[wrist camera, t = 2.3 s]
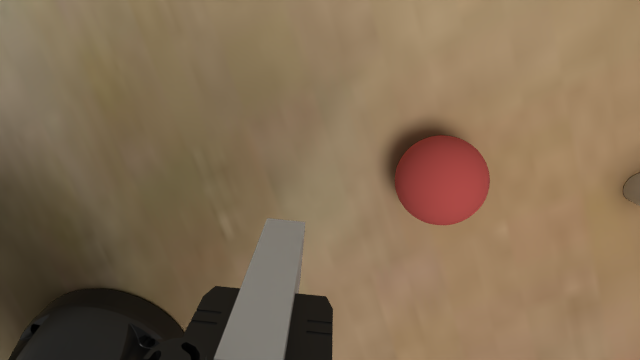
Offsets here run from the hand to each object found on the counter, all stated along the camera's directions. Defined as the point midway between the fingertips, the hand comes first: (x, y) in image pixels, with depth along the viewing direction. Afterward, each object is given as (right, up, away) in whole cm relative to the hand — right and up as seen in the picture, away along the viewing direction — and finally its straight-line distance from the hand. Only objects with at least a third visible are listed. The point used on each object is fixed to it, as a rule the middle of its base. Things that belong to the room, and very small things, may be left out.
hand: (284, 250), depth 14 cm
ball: (+10, +3, +10) cm, 14 cm away
